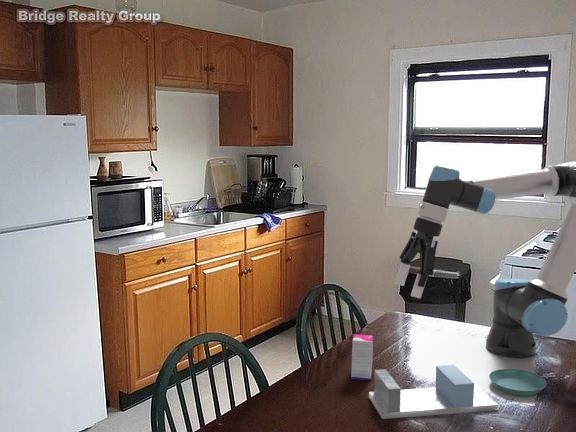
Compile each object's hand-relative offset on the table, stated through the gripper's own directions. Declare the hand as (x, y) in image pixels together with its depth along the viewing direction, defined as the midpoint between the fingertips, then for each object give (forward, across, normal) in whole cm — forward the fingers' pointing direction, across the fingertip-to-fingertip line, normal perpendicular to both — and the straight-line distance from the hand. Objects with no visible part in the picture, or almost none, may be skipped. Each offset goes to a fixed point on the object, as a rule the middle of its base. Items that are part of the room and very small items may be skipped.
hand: (406, 290), depth 166 cm
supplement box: (+28, 0, -5) cm, 28 cm away
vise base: (+24, +20, +8) cm, 32 cm away
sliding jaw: (+20, +20, +13) cm, 31 cm away
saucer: (+16, +14, +33) cm, 39 cm away
